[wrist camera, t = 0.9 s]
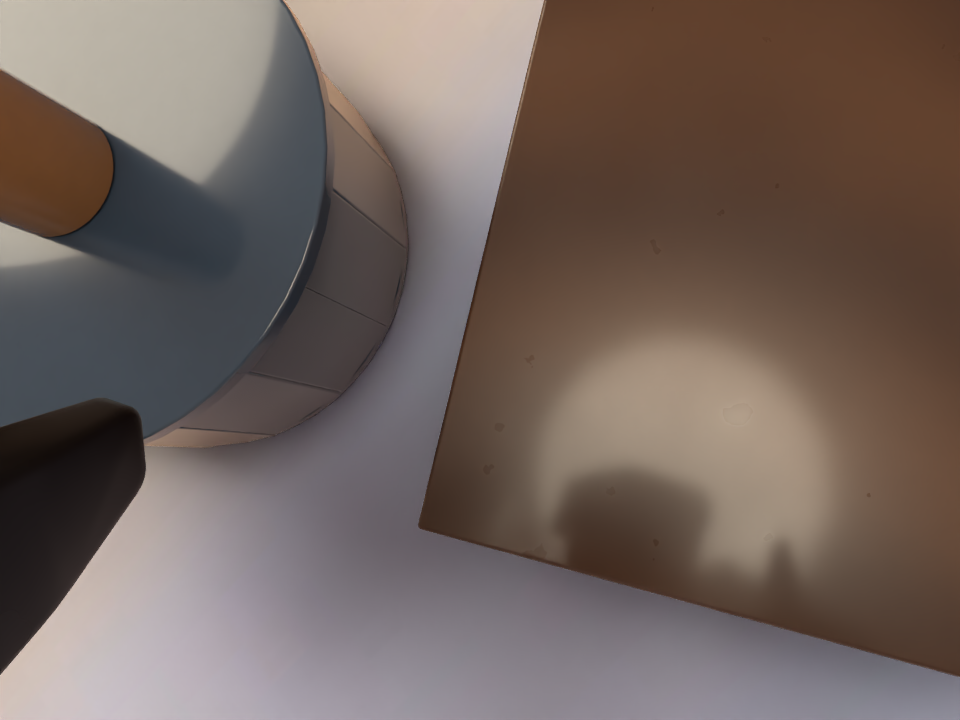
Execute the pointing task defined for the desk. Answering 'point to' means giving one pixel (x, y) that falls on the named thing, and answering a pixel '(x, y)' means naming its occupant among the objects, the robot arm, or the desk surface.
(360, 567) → the desk surface
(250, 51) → the lid
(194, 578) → the desk surface
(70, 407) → the robot arm
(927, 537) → the trivet
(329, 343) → the pot
